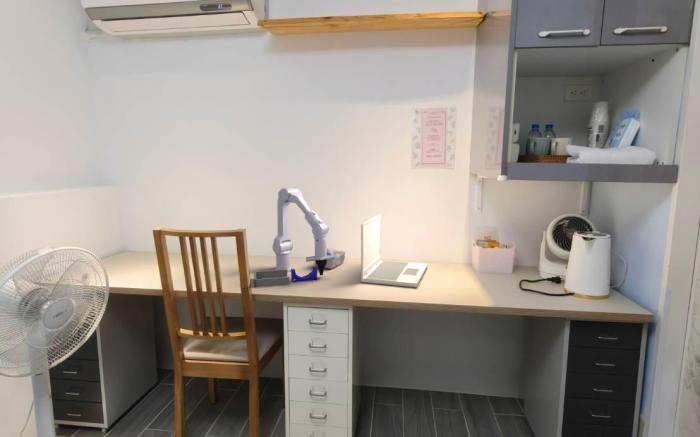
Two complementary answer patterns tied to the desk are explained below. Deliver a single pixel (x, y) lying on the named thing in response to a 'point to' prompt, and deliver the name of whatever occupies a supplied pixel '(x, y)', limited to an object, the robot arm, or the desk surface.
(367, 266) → the laptop
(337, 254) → the grey rounded block
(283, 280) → the box
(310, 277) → the cable clip
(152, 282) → the desk surface
